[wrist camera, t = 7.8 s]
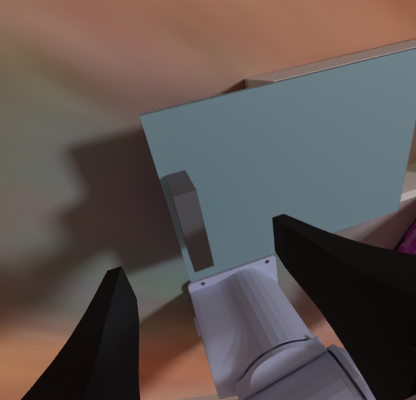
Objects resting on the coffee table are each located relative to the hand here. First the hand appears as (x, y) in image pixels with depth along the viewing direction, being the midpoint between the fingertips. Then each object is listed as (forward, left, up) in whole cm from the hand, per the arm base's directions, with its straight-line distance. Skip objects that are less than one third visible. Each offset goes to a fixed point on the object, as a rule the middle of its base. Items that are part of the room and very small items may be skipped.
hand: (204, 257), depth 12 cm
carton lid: (+8, 0, -6) cm, 10 cm away
